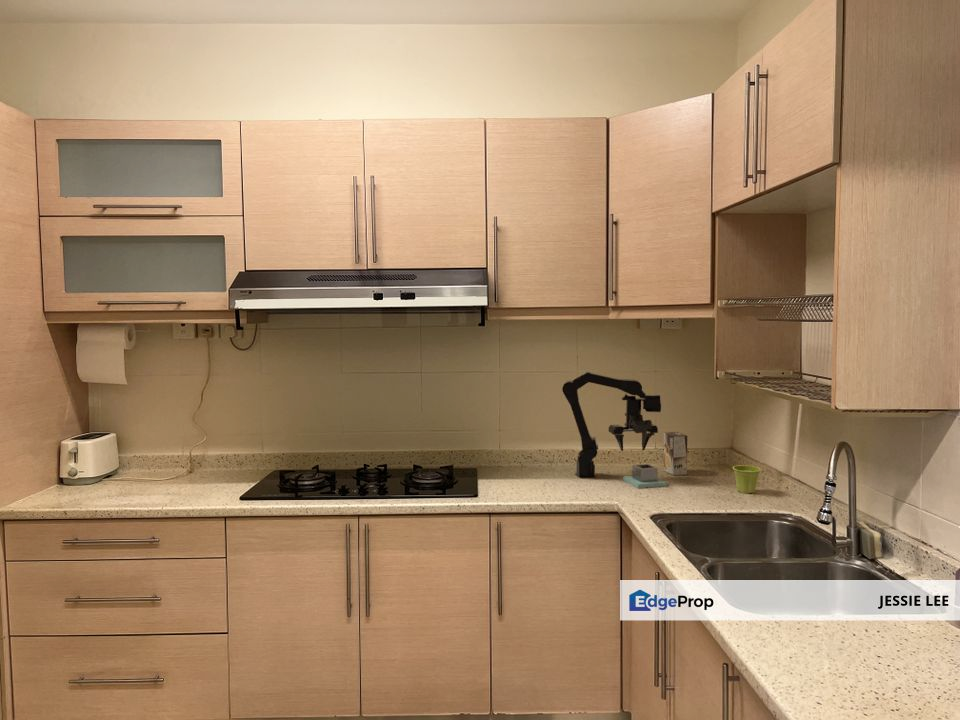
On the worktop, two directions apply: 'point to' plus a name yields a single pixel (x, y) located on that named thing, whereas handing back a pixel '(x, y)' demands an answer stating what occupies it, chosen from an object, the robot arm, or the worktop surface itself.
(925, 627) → the worktop surface
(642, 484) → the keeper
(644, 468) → the link
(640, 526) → the worktop surface
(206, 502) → the worktop surface
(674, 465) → the coffee box
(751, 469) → the plant pot
